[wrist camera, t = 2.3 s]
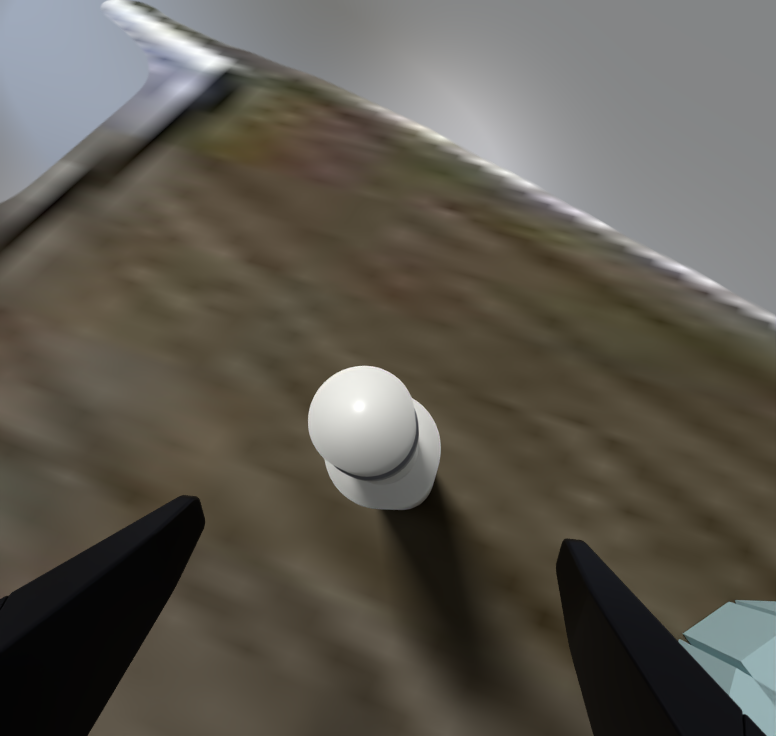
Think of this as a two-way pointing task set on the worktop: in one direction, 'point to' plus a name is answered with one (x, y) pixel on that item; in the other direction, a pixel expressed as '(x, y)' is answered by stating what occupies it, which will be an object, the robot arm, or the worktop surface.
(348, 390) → the white rounded peg
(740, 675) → the pale blue segmented ring
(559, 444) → the worktop surface
